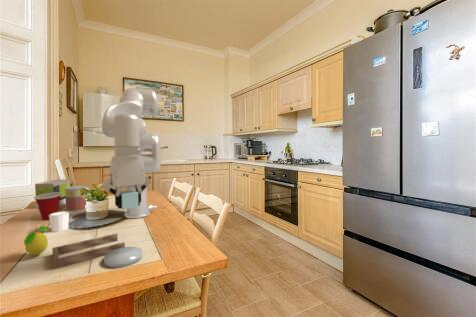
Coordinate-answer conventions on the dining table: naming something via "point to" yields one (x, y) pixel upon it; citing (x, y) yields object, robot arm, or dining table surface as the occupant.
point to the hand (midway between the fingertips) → (128, 205)
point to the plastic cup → (48, 203)
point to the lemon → (36, 241)
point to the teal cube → (129, 199)
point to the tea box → (53, 188)
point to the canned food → (74, 198)
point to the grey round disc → (122, 257)
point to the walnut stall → (84, 255)
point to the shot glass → (59, 221)
